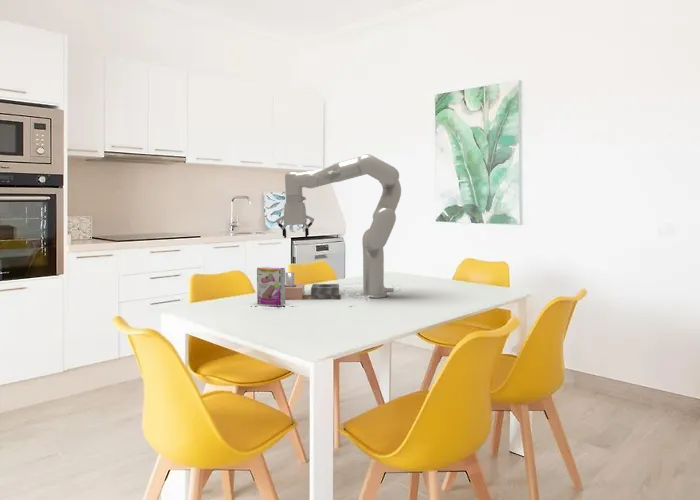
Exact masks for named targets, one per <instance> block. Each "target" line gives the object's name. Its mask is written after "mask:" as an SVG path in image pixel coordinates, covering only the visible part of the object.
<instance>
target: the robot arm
mask: <svg viewBox="0 0 700 500" xmlns="http://www.w3.org/2000/svg"><path fill="white" fill-rule="evenodd" d="M364 175H365V176H366V175H368V176H370V177H371V178H373V179H375V180H377V181H378V182H379V184H380V185H381V187H382V193H381V196H380V198H379V200H378V203H377V205H376V208H375V210H373V211H374V212H373V214H372V222H371V225H370V227H369V228H368V229H366V230H365V231H364V233H363V235H362V242H361V243H362V257H363V258H362V274H363V275H362V280H363V282H362V286H363V287H362V288H363V290H362V292H360V293H359V295H360V296H364V297H369V299H381V298H386V297H387V296H388V293H394V291H395V289H394V288H393V287H385V282H384V279H385V271H384V269H385V267H384V266H385V265H384V264H385V259H384V256H385V255H384V254H385V253H384V247H385V246H386V244H387V242H388V240H389V238H390V236H391V233H392V231H393V229H394V226H395V224H396V220H397V216H396V210H397V207H398V205H399V202H400V200H401V195H402V187H401V183H400V180H399V179H400V173H399V171H398V169H397V168H396V167H394V166H393V165H391V164H389V163H388V162H385V161H384V160H381V159H379V158H378V157H377V156H374V155H372V154H369V153H368V154H366V153H365V154H363V155H361V156H357V157H353V158H349V159H346V160H341V161H338V162H336V163H334V164H332V165H330V166H327V167H324V168H321V169H317V170H309V171H302V172H298V171H295V172H294V171H290V172H286V173H285V174H284V184H285V186H284V187H285V203H284V205H283V215H282V216H280V217H278V218H277V219H275V222H276V223H277V225H278V227H280V229H282V230H281V231H282V237H283V238H284V239H287V229H286V227H287V226H297V225H299V226H301V225H303V226H304V227H305V228H304V232H305V233H304V234H305V235H304V236H305V238H308V236H310V235H309V234H310V233H309V228H310V227H311V226H313V223H314V221H315V218H313V217H312V216H310V215H308V214H307V210H306V204H305V202H304V201H306V200H307V196H303V188H305V189H306V188H307V189H315V188H319V187H323V186H327V185H329V184H333V183H340V182H344V181H347V180H351V179H355V178H357V177H361V176H362V177H363V176H364ZM307 219H308V220H310V221H309V222H308V223H307ZM282 220H283V224H282V223H281V221H282Z"/></svg>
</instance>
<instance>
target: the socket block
mask: <svg viewBox="0 0 700 500" xmlns="http://www.w3.org/2000/svg"><path fill="white" fill-rule="evenodd" d="M294 286H295V287H286V283H285V299H303V297H304V295H305V283H294Z"/></svg>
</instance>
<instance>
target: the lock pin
mask: <svg viewBox="0 0 700 500" xmlns="http://www.w3.org/2000/svg"><path fill="white" fill-rule="evenodd" d="M285 284H286V287H295V286H294V284H295V272H292V271H291V272H285Z"/></svg>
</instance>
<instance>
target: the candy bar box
mask: <svg viewBox="0 0 700 500" xmlns="http://www.w3.org/2000/svg"><path fill="white" fill-rule="evenodd" d="M285 273H286V267H278V266H277V267H273V266H259V267H257V268H256V281H257V282H256V287H257V288H256V289H257V290H256V291H257V292H256V293H257V305H266V306H267V307H269V308H282V307H283V308H284V305H285V304H286V300H285V284H286V279H285Z"/></svg>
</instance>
